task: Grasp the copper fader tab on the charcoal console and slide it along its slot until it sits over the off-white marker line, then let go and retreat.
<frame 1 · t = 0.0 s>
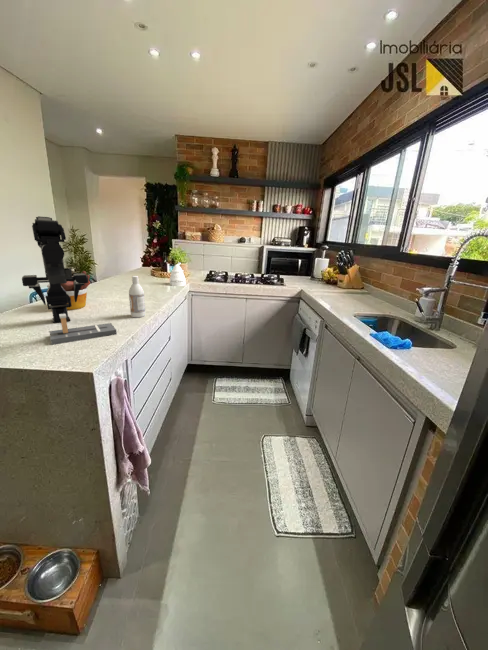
hand: (60, 303, 96), 15 cm above the countertop, fingers open, 9 cm apart
fader tab: (64, 323, 101), point 6 cm above the countertop, slide at -6.0 cm
bucket of meat: (73, 307, 142), on the countertop
honey pot: (177, 284, 220), on the countertop
console: (84, 335, 106), on the countertop
bath foam: (138, 316, 134), on the countertop
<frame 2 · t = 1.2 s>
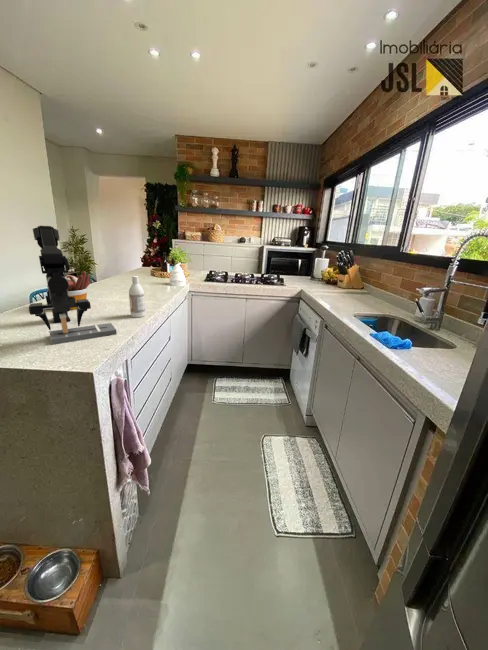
hand: (64, 327, 102), 4 cm above the countertop, fingers open, 9 cm apart
nothing on the countertop moved.
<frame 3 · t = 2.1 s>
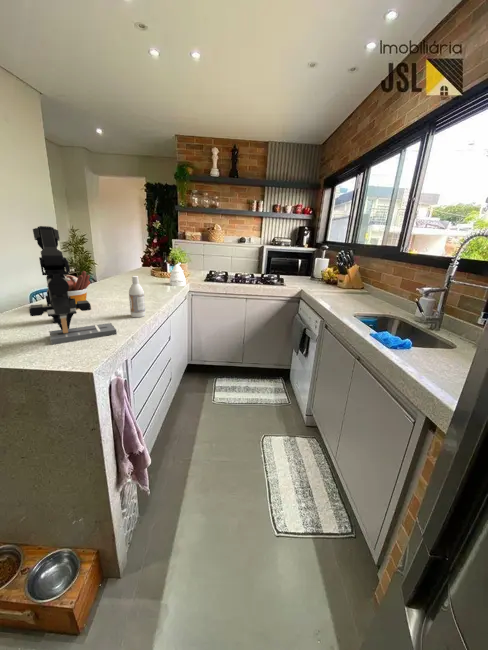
hand: (65, 329, 102), 4 cm above the countertop, fingers closed on fader tab, 2 cm apart
fader tab: (64, 323, 101), point 6 cm above the countertop, slide at -6.0 cm, touching gripper
everything else where it was.
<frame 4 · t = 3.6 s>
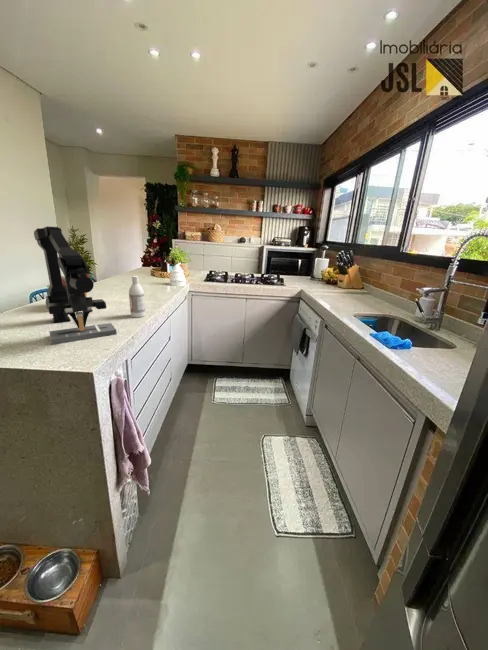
hand: (81, 327, 105), 4 cm above the countertop, fingers closed on fader tab, 2 cm apart
fader tab: (80, 321, 104), point 6 cm above the countertop, slide at -0.6 cm, touching gripper
everything else where it was.
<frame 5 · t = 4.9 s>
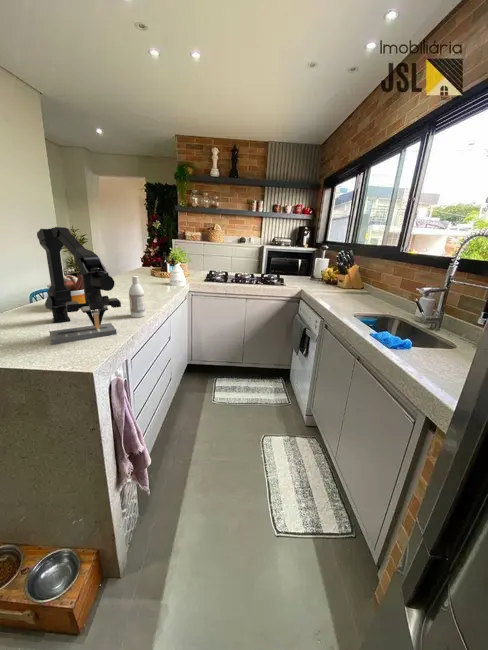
hand: (96, 325, 108), 4 cm above the countertop, fingers closed
fader tab: (96, 319, 107), point 6 cm above the countertop, slide at 4.9 cm
everything else where it was.
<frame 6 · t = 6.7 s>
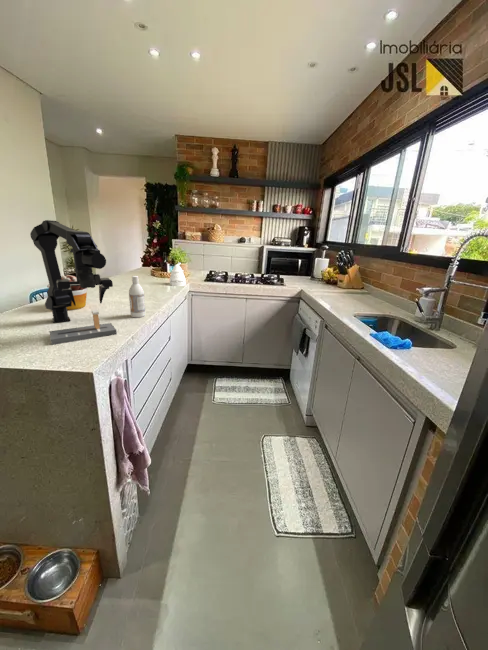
hand: (88, 304, 108), 11 cm above the countertop, fingers open, 9 cm apart
nothing on the countertop moved.
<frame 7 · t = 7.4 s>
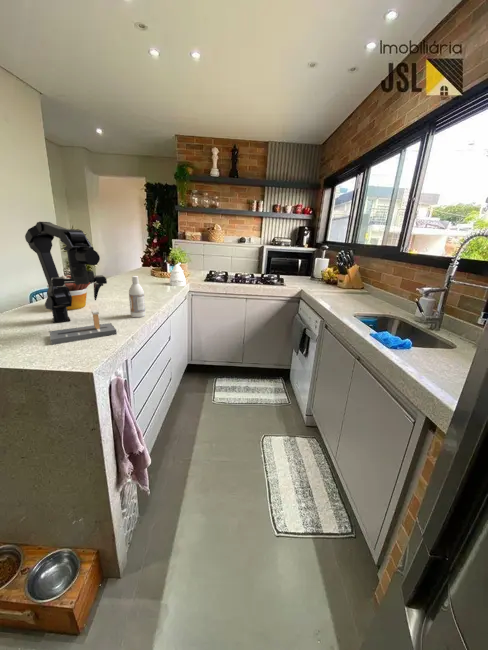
hand: (82, 301, 110), 12 cm above the countertop, fingers open, 9 cm apart
nothing on the countertop moved.
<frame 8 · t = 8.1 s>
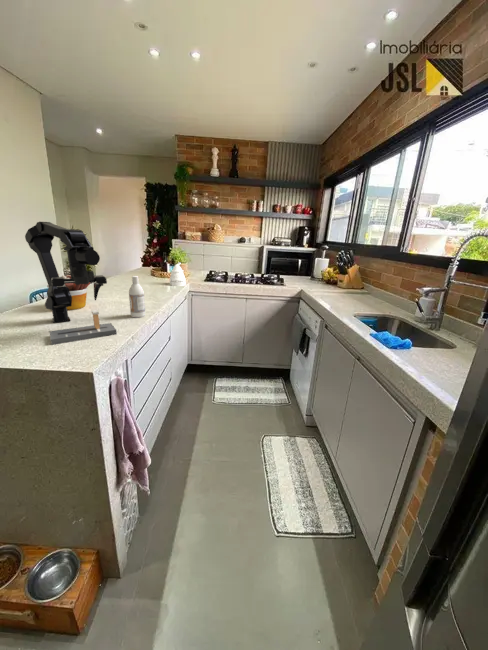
hand: (82, 301, 110), 12 cm above the countertop, fingers open, 9 cm apart
nothing on the countertop moved.
at the end: fader tab slide at 4.9 cm; the gripper is holding nothing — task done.
